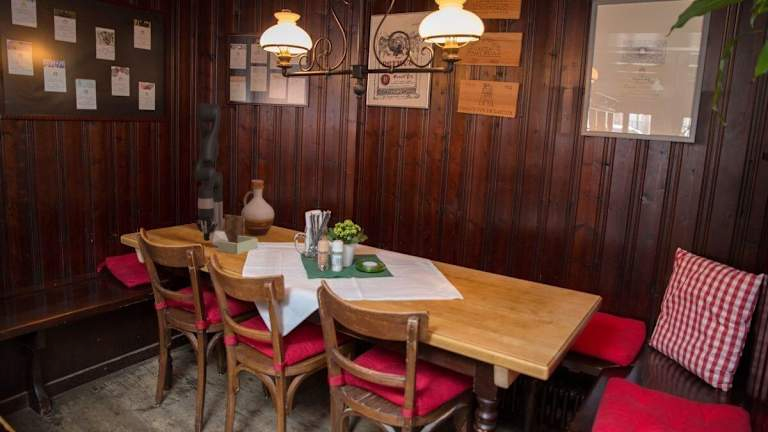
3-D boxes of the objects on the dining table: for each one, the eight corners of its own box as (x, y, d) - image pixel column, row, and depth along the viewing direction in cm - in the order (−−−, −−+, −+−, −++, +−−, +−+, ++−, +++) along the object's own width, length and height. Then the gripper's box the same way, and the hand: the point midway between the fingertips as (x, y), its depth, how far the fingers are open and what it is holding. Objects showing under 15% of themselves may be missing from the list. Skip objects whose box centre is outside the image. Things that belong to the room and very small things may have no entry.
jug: (232, 234, 315) (231, 179, 310) (256, 229, 330) (255, 177, 324) (257, 239, 305) (257, 183, 299) (281, 234, 319) (281, 180, 314)
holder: (218, 251, 277) (218, 241, 277) (239, 245, 291) (239, 235, 290) (237, 254, 273) (237, 244, 272) (257, 247, 286) (257, 238, 285)
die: (231, 247, 289) (226, 230, 292) (225, 242, 281) (221, 224, 284) (216, 252, 289) (211, 235, 292) (210, 248, 280) (205, 230, 284)
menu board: (222, 241, 297) (221, 215, 294) (228, 240, 301) (228, 213, 299) (240, 244, 292) (240, 217, 289) (247, 242, 296) (247, 216, 294)
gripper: (221, 207, 287) (222, 240, 290) (201, 204, 293) (202, 237, 296) (210, 209, 280) (211, 243, 283) (190, 206, 286) (191, 240, 289)
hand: (206, 240), depth 290 cm, fingers closed
